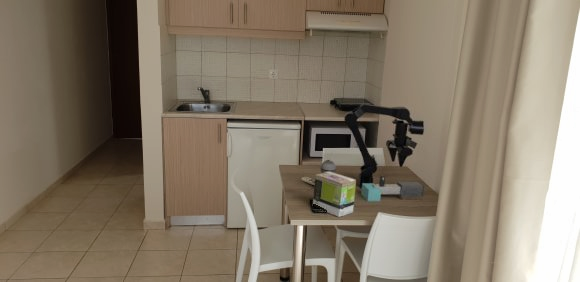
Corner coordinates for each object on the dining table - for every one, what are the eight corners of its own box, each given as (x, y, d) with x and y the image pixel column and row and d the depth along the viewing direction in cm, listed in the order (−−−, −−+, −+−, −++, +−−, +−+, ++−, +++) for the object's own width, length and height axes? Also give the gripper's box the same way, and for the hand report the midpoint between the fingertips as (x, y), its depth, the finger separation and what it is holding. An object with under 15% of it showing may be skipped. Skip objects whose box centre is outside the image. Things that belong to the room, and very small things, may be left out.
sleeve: (400, 199, 212) (402, 185, 210) (395, 195, 217) (397, 181, 215) (422, 199, 214) (424, 185, 212) (417, 195, 219) (419, 182, 217)
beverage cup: (324, 188, 221) (327, 148, 216) (336, 192, 216) (340, 151, 212) (315, 191, 215) (318, 150, 211) (328, 195, 211) (331, 154, 206)
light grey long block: (373, 194, 210) (375, 177, 208) (371, 191, 213) (372, 175, 211) (408, 194, 213) (410, 177, 211) (404, 191, 216) (407, 175, 214)
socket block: (367, 201, 207) (368, 189, 206) (361, 194, 215) (362, 183, 214) (380, 201, 208) (381, 189, 207) (373, 194, 217) (374, 183, 215)
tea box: (353, 212, 192) (357, 179, 189) (338, 217, 185) (341, 183, 182) (327, 201, 203) (329, 170, 199) (311, 206, 196) (314, 173, 193)
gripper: (425, 137, 213) (420, 169, 216) (407, 129, 230) (404, 159, 234) (402, 137, 210) (398, 169, 214) (387, 129, 228) (383, 158, 232)
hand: (396, 164), depth 223 cm, fingers open, 9 cm apart
